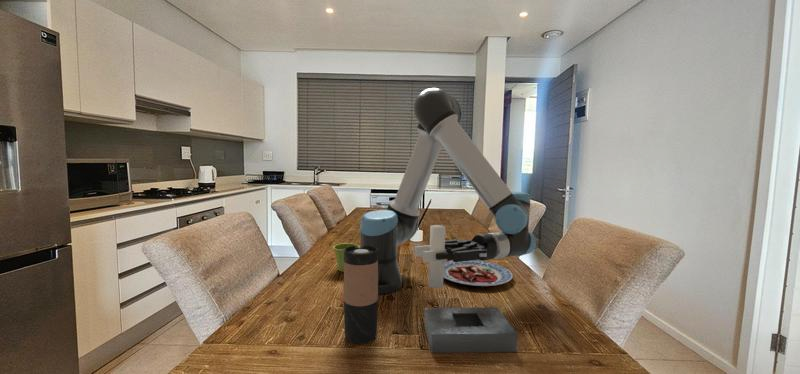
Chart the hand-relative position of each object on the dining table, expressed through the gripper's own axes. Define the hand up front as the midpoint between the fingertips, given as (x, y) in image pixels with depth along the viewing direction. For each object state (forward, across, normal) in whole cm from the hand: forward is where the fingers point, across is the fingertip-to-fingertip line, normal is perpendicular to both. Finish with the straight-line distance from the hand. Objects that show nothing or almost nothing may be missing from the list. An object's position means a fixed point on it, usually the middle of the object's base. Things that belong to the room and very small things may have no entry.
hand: (419, 254), depth 82 cm
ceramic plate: (-31, +16, -16) cm, 38 cm away
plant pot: (+8, +40, -16) cm, 44 cm away
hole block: (-5, -15, -15) cm, 22 cm away
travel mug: (+17, -4, -16) cm, 24 cm away
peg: (-5, 0, -9) cm, 10 cm away
